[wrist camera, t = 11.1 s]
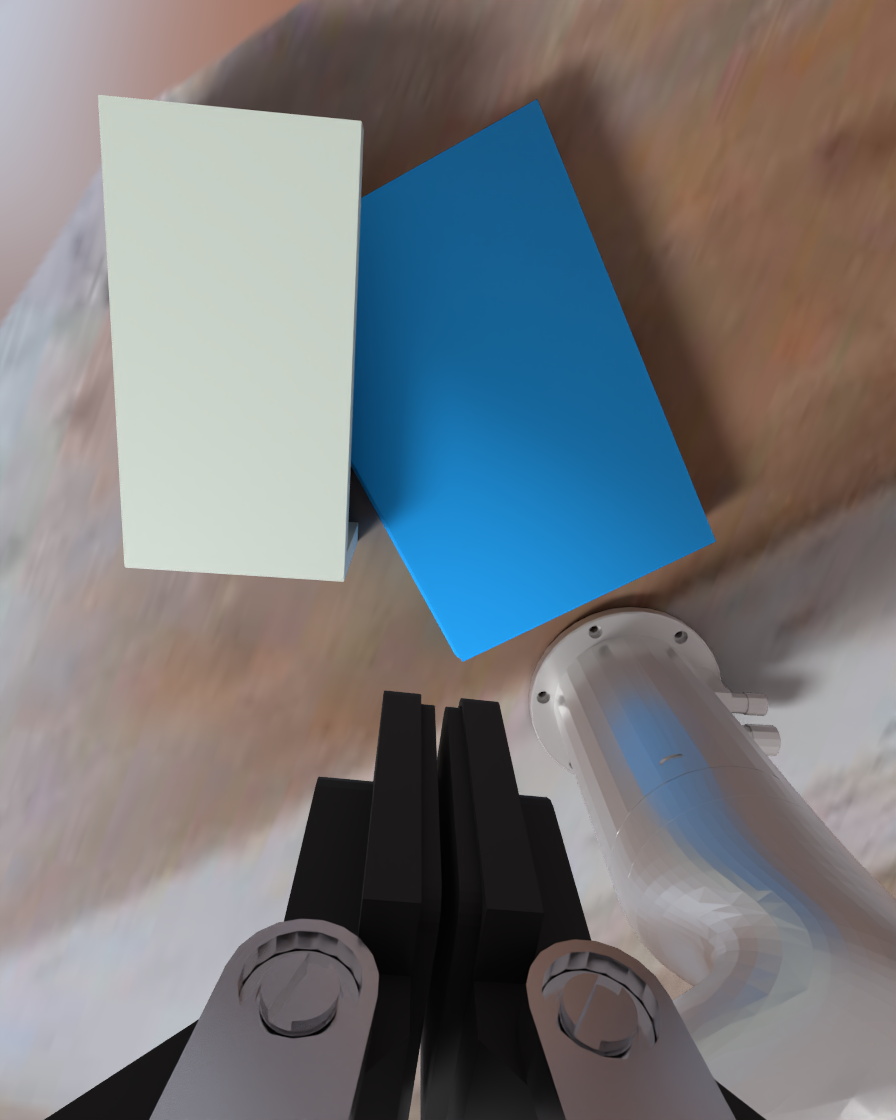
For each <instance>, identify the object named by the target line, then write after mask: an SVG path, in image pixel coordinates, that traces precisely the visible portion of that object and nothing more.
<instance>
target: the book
mask: <svg viewBox="0 0 896 1120" xmlns="http://www.w3.org/2000/svg"><path fill="white" fill-rule="evenodd" d="M351 467H352V469H353V471H354V472H355V474H356V476H357V478H358V480H359V481H360V483H361V485H362V487H363V489H364V491H365V492H366V494H367V496H368V498H369V500H370V501H371V503H372V505H373V507H374V509H375V510H376V512H377V514H378V516H379V518H380V520H381V521H382V523H383V525H384V527H385V529H386V530H387V532H388V534H389V536H390V538H391V539H392V541H393V543H394V545H395V547H396V549H397V550H398V552H399V554H400V556H401V558H402V559H403V561H404V563H405V565H406V567H407V568H408V570H409V572H410V574H411V576H412V578H413V579H414V581H415V583H416V585H417V587H418V588H419V590H420V592H421V594H422V596H423V597H424V599H425V601H426V603H427V605H428V607H429V608H430V610H431V612H432V614H433V616H434V617H435V619H436V621H437V623H438V625H439V626H440V628H441V630H442V632H443V634H444V636H445V637H446V639H447V641H448V643H449V645H450V646H451V648H452V650H453V652H454V654H455V655H456V656H457V657H459V658H461V660H462V662H463V661H465V660H467V659H470V658H472V657H474V656H476V655H478V654H480V653H482V652H484V651H486V650H488V649H491V648H493V647H495V646H497V645H499V644H501V643H503V642H505V641H507V640H510V639H512V638H514V637H516V636H518V635H520V634H522V633H524V632H526V631H528V630H531V629H533V628H535V627H537V626H539V625H541V624H543V623H545V622H547V621H550V620H552V619H554V618H556V617H558V616H560V615H562V614H564V613H566V612H568V611H571V610H573V609H575V608H577V607H579V606H581V605H583V604H585V603H587V602H589V601H592V600H594V599H596V598H598V597H600V596H602V595H604V594H606V593H608V592H611V591H613V590H615V589H617V588H619V587H621V586H623V585H625V584H627V583H629V582H632V581H634V580H636V579H638V578H640V577H642V576H644V575H646V574H648V573H651V572H653V571H655V570H657V569H659V568H661V567H663V566H665V565H667V564H669V563H672V562H674V561H676V560H678V559H680V558H682V557H684V556H686V555H688V554H691V553H693V552H695V551H697V550H699V549H701V548H703V547H705V546H707V545H709V544H712V543H714V542H716V541H715V538H714V536H713V533H712V531H711V528H710V526H709V523H708V521H707V518H706V516H705V513H704V511H703V508H702V506H701V503H700V501H699V498H698V496H697V493H696V491H695V489H694V486H693V484H692V481H691V479H690V476H689V474H688V471H687V469H686V466H685V464H684V461H683V459H682V456H681V454H680V451H679V449H678V446H677V444H676V441H675V439H674V437H673V434H672V432H671V429H670V427H669V424H668V422H667V419H666V417H665V414H664V412H663V409H662V407H661V404H660V402H659V399H658V397H657V394H656V392H655V389H654V387H653V385H652V382H651V380H650V377H649V375H648V372H647V370H646V367H645V365H644V362H643V360H642V357H641V355H640V352H639V350H638V347H637V345H636V342H635V340H634V337H633V335H632V333H631V330H630V328H629V325H628V323H627V320H626V318H625V315H624V313H623V310H622V308H621V305H620V303H619V300H618V298H617V295H616V293H615V290H614V288H613V285H612V283H611V281H610V278H609V276H608V273H607V271H606V268H605V266H604V263H603V261H602V258H601V256H600V253H599V251H598V248H597V246H596V243H595V241H594V238H593V236H592V233H591V231H590V229H589V226H588V224H587V221H586V219H585V216H584V214H583V211H582V209H581V206H580V204H579V201H578V199H577V196H576V194H575V191H574V189H573V186H572V184H571V181H570V179H569V177H568V174H567V172H566V169H565V167H564V164H563V162H562V159H561V157H560V154H559V152H558V149H557V147H556V144H555V142H554V139H553V137H552V134H551V132H550V129H549V127H548V125H547V122H546V120H545V117H544V115H543V112H542V110H541V107H540V105H539V102H538V100H537V99H536V100H534V101H533V102H531V103H529V104H527V105H526V106H524V107H522V108H520V109H518V110H517V111H515V112H513V113H511V114H510V115H508V116H506V117H504V118H502V119H501V120H499V121H497V122H495V123H494V124H492V125H490V126H488V127H486V128H485V129H483V130H481V131H479V132H478V133H476V134H474V135H472V136H470V137H469V138H467V139H465V140H463V141H462V142H460V143H458V144H456V145H454V146H453V147H451V148H449V149H447V150H446V151H444V152H442V153H440V154H438V155H437V156H435V157H433V158H431V159H430V160H428V161H426V162H424V163H422V164H421V165H419V166H417V167H415V168H414V169H412V170H410V171H408V172H406V173H405V174H403V175H401V176H399V177H398V178H396V179H394V180H392V181H390V182H389V183H387V184H385V185H383V186H382V187H380V188H378V189H376V190H374V191H373V192H371V193H369V194H367V195H366V196H364V197H362V198H361V213H360V239H359V264H358V290H357V315H356V341H355V366H354V392H353V417H352V443H351Z"/></svg>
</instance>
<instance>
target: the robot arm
mask: <svg viewBox="0 0 896 1120" xmlns="http://www.w3.org/2000/svg"><path fill="white" fill-rule="evenodd" d="M592 626H596V628H595V629H594V630H590V628H591V627H592ZM679 631H680V632H679ZM677 632H679V634H677V635H675V634H676V633H677ZM543 691H545V692H544V693H543V694H539V693H540V692H543ZM529 711H530V715H531V719H532V724H533V727H534V730H535V732H536V735H537V738H538V740H539V742H540V743H541V745H542V746H543V748H544V749H545V751H546V752H547V754H548V755H549V756H550V757H551V758H552V759H553V760H554V761H555V762H556V763H557V764H558V765H560V766H561V767H562V768H564V769H565V770H567V771H568V772H570V773H572V774H574V775H575V777H576V780H577V782H578V785H579V788H580V791H581V794H582V797H583V800H584V803H585V805H586V808H587V811H588V814H589V817H590V820H591V823H592V825H593V828H594V831H595V834H596V837H597V840H598V843H599V846H600V848H601V851H602V854H603V857H604V860H605V863H606V866H607V869H608V871H609V874H610V877H611V880H612V883H613V886H614V889H615V891H616V894H617V896H618V899H619V902H620V905H621V908H622V910H623V912H624V914H625V916H626V918H627V921H628V923H629V925H630V926H631V928H632V929H633V931H634V933H635V934H636V935H637V937H638V939H639V940H640V941H641V943H642V944H643V945H644V946H645V947H646V948H647V949H648V950H649V951H650V952H651V953H652V955H653V956H654V957H655V958H656V959H657V960H658V961H659V962H660V963H662V964H663V965H664V966H665V967H666V968H668V969H669V970H670V971H672V972H673V973H675V974H676V975H677V976H679V977H680V978H682V979H683V980H684V981H686V982H687V983H689V984H691V985H692V986H694V987H692V988H691V989H689V990H688V991H686V992H685V993H683V994H682V995H680V996H679V997H677V998H675V999H674V1000H671V998H670V996H669V994H668V993H667V992H666V990H665V989H664V987H663V986H662V985H661V983H660V982H659V980H658V979H657V977H656V976H655V975H654V974H653V973H651V972H650V971H649V970H648V969H647V968H646V967H645V966H644V965H643V964H641V963H640V962H639V961H638V960H637V959H635V958H633V957H631V956H630V955H628V954H626V953H625V952H623V951H621V950H620V949H618V948H615V947H612V946H609V945H606V944H603V943H600V942H597V941H591V938H590V934H589V931H588V927H587V924H586V920H585V917H584V913H583V910H582V906H581V903H580V899H579V896H578V892H577V889H576V885H575V882H574V878H573V875H572V871H571V867H570V864H569V860H568V857H567V853H566V850H565V846H564V843H563V839H562V836H561V832H560V829H559V825H558V822H557V818H556V815H555V811H554V808H553V805H552V803H551V800H550V799H548V798H547V797H536V796H525V795H519V793H518V789H517V784H516V779H515V775H514V770H513V765H512V761H511V756H510V752H509V747H508V742H507V738H506V733H505V728H504V724H503V719H502V714H501V710H500V705H499V703H498V702H493V701H483V700H473V699H463V698H461V700H460V702H459V706H458V708H454V707H446V708H445V711H444V717H443V724H442V730H441V737H440V744H439V751H438V758H437V751H436V726H435V706H434V705H424V704H421V694H414V693H404V692H394V691H384V695H383V703H382V712H381V720H380V729H379V737H378V746H377V754H376V763H375V771H374V780H373V782H371V781H361V780H350V779H339V778H328V777H318V779H317V783H316V787H315V791H314V795H313V800H312V804H311V808H310V812H309V817H308V821H307V825H306V829H305V834H304V838H303V842H302V847H301V851H300V855H299V859H298V864H297V868H296V872H295V876H294V881H293V885H292V889H291V894H290V898H289V902H288V906H287V911H286V915H285V919H284V922H279V923H276V924H274V925H272V926H270V927H267V928H265V929H263V930H261V931H258V932H257V933H255V934H254V935H253V936H252V937H250V938H249V939H248V940H246V941H245V942H244V943H243V944H241V945H240V946H239V947H238V949H237V950H236V952H235V953H234V954H233V956H232V957H231V959H230V960H229V961H228V963H227V964H226V966H225V968H224V970H223V972H222V974H221V976H220V978H219V980H218V982H217V984H216V986H215V988H214V990H213V992H212V994H211V996H210V998H209V1000H208V1002H207V1004H206V1006H205V1008H204V1010H203V1012H202V1014H201V1016H200V1018H199V1020H197V1021H196V1022H194V1023H192V1024H191V1025H189V1026H188V1027H186V1028H185V1029H183V1030H182V1031H180V1032H179V1033H177V1034H176V1035H174V1036H172V1037H171V1038H169V1039H168V1040H166V1041H165V1042H163V1043H162V1044H160V1045H159V1046H157V1047H155V1048H154V1049H152V1050H151V1051H149V1052H148V1053H146V1054H145V1055H143V1056H142V1057H140V1058H139V1059H137V1060H135V1061H134V1062H132V1063H131V1064H129V1065H128V1066H126V1067H125V1068H123V1069H122V1070H120V1071H119V1072H117V1073H115V1074H114V1075H112V1076H111V1077H109V1078H108V1079H106V1080H105V1081H103V1082H102V1083H100V1084H99V1085H97V1086H95V1087H94V1088H92V1089H91V1090H89V1091H88V1092H86V1093H85V1094H83V1095H82V1096H80V1097H79V1098H77V1099H75V1100H74V1101H72V1102H71V1103H69V1104H68V1105H66V1106H65V1107H63V1108H62V1109H60V1110H59V1111H57V1112H55V1113H54V1114H52V1115H51V1116H49V1117H48V1118H46V1119H45V1120H408V1118H409V1111H410V1105H411V1099H412V1093H413V1086H414V1080H415V1074H416V1068H417V1062H418V1055H419V1049H420V1043H421V1120H896V899H895V898H894V897H893V896H892V895H891V894H890V893H889V892H888V891H887V890H886V889H885V888H884V887H882V886H881V885H880V884H879V883H878V882H877V881H876V880H875V879H874V878H873V877H872V876H871V874H870V873H869V872H868V871H867V870H866V869H865V868H864V867H863V866H862V865H861V864H860V863H859V862H858V861H857V860H856V859H855V858H854V856H853V855H852V854H851V853H850V852H849V851H848V850H847V849H846V847H845V846H844V845H843V844H842V843H841V842H840V841H839V840H838V839H837V837H836V836H835V835H834V834H833V833H832V832H831V831H830V830H829V828H828V827H827V826H826V825H825V824H824V823H823V821H822V820H821V819H820V818H819V817H818V816H817V814H816V813H815V812H814V811H813V810H812V808H811V807H810V806H809V805H808V804H807V802H806V801H805V800H804V799H803V798H802V797H801V795H800V794H799V793H798V792H797V791H796V790H795V789H794V788H793V787H792V785H791V784H790V783H789V782H788V780H787V779H786V778H785V777H784V776H783V774H782V773H781V772H780V771H779V770H778V768H777V767H776V766H775V765H774V764H773V762H772V761H771V760H770V759H769V758H768V756H776V755H777V754H778V753H779V750H780V743H781V739H780V735H779V732H778V730H777V728H776V727H774V726H773V725H756V724H745V725H741V724H740V723H739V722H738V720H737V719H736V718H735V717H734V716H733V714H732V713H741V714H744V715H757V716H764V715H766V713H767V711H768V700H767V697H766V696H765V695H764V694H759V693H742V694H741V693H731V692H730V690H729V689H728V688H726V687H725V686H724V685H723V684H722V682H721V675H720V670H719V667H718V665H717V662H716V660H715V657H714V655H713V653H712V652H711V650H710V649H709V647H708V646H707V644H706V643H705V642H704V640H703V639H702V638H701V637H700V636H699V635H698V634H697V633H696V632H695V631H694V630H693V629H692V628H690V627H689V626H688V625H686V624H685V623H684V622H682V621H681V620H679V619H677V618H675V617H673V616H671V615H669V614H667V613H665V612H661V611H657V610H653V609H649V608H639V607H623V608H615V609H608V610H605V611H602V612H598V613H595V614H592V615H590V616H588V617H586V618H584V619H582V620H580V621H578V622H576V623H574V624H573V625H572V626H570V627H569V628H567V629H566V630H565V631H563V632H562V633H561V634H560V635H559V636H558V637H557V638H556V639H555V640H554V641H553V642H552V643H551V644H550V645H549V646H548V647H547V649H546V651H545V652H544V654H543V655H542V657H541V658H540V660H539V661H538V664H537V666H536V669H535V671H534V674H533V676H532V679H531V685H530V691H529Z"/></svg>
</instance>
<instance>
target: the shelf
mask: <svg viewBox="0 0 896 1120" xmlns="http://www.w3.org/2000/svg"><path fill="white" fill-rule="evenodd" d="M98 103H99V120H100V139H101V157H102V175H103V193H104V210H105V228H106V246H107V264H108V281H109V299H110V317H111V335H112V352H113V370H114V388H115V405H116V423H117V441H118V459H119V476H120V494H121V512H122V530H123V547H124V565H125V567H126V568H142V569H157V570H173V571H188V572H204V573H219V574H235V575H250V576H266V577H281V578H297V579H312V580H328V581H343V582H344V580H345V577H346V574H347V571H348V568H349V565H350V562H351V559H352V556H353V553H354V550H355V548H356V545H357V542H358V523H357V522H348V519H349V493H350V468H351V443H352V417H353V392H354V366H355V341H356V315H357V290H358V264H359V239H360V213H361V188H362V163H363V137H364V128H363V125H362V121H357V120H346V119H336V118H326V117H316V116H306V115H296V114H286V113H276V112H266V111H256V110H245V109H235V108H225V107H215V106H205V105H195V104H185V103H175V102H165V101H155V100H145V99H134V98H124V97H114V96H104V95H98Z"/></svg>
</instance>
